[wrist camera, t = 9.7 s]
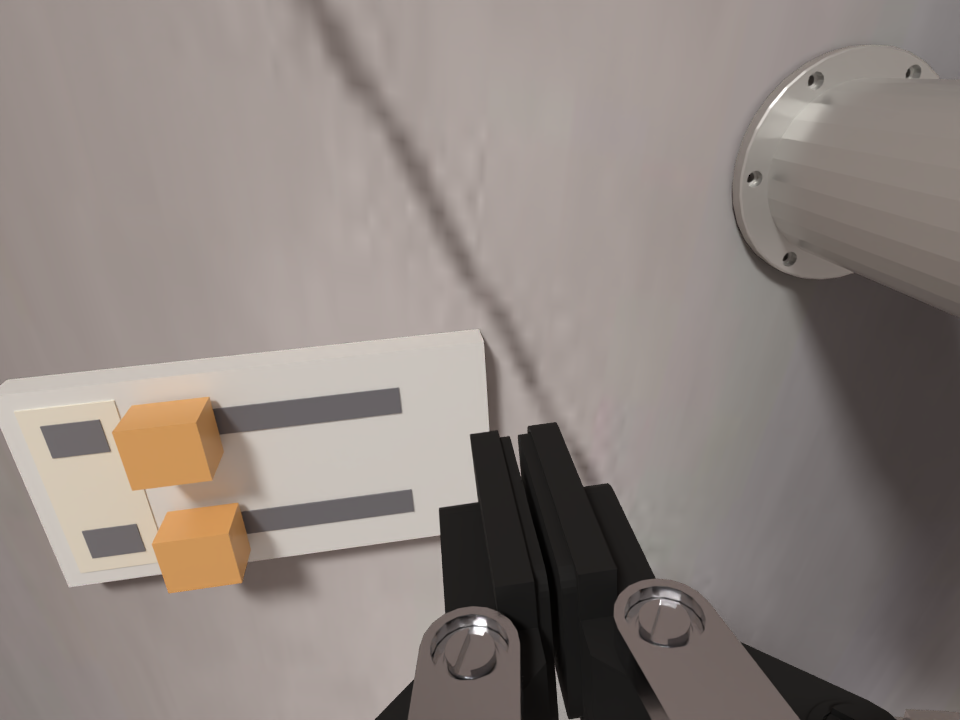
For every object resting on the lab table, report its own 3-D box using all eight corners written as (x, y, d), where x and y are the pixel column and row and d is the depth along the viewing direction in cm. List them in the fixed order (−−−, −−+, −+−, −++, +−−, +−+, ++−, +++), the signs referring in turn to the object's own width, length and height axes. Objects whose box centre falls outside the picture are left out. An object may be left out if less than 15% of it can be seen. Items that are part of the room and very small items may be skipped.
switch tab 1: (209, 396, 35) (195, 422, 32) (223, 451, 36) (212, 480, 34) (131, 405, 34) (111, 432, 32) (149, 461, 36) (132, 490, 33)
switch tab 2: (238, 502, 38) (228, 533, 35) (250, 549, 39) (242, 582, 37) (167, 511, 37) (151, 544, 35) (182, 558, 39) (168, 593, 36)
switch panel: (478, 328, 38) (484, 343, 36) (490, 508, 43) (495, 529, 41) (7, 379, 35) (-15, 398, 33) (82, 564, 41) (67, 589, 39)
